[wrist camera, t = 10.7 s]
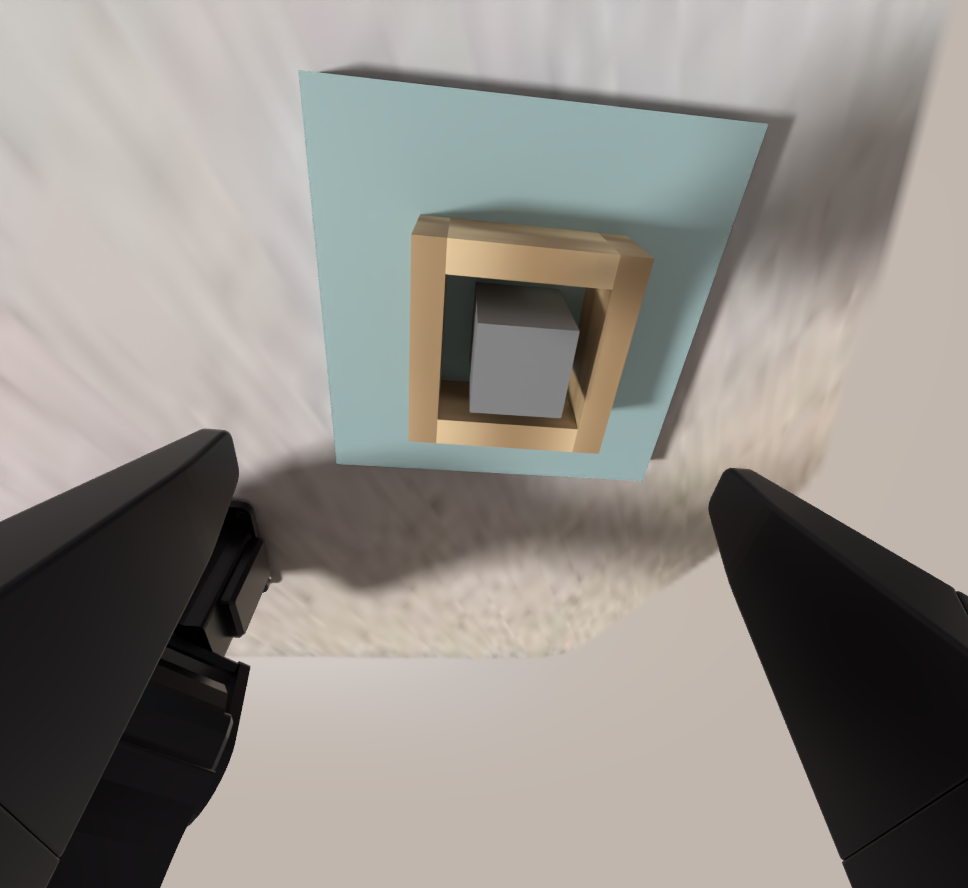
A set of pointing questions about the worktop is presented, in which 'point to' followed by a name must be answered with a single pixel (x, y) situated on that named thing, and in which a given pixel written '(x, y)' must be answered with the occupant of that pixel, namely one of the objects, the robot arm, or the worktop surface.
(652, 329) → the post board
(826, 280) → the worktop surface
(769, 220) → the worktop surface
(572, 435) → the square frame
